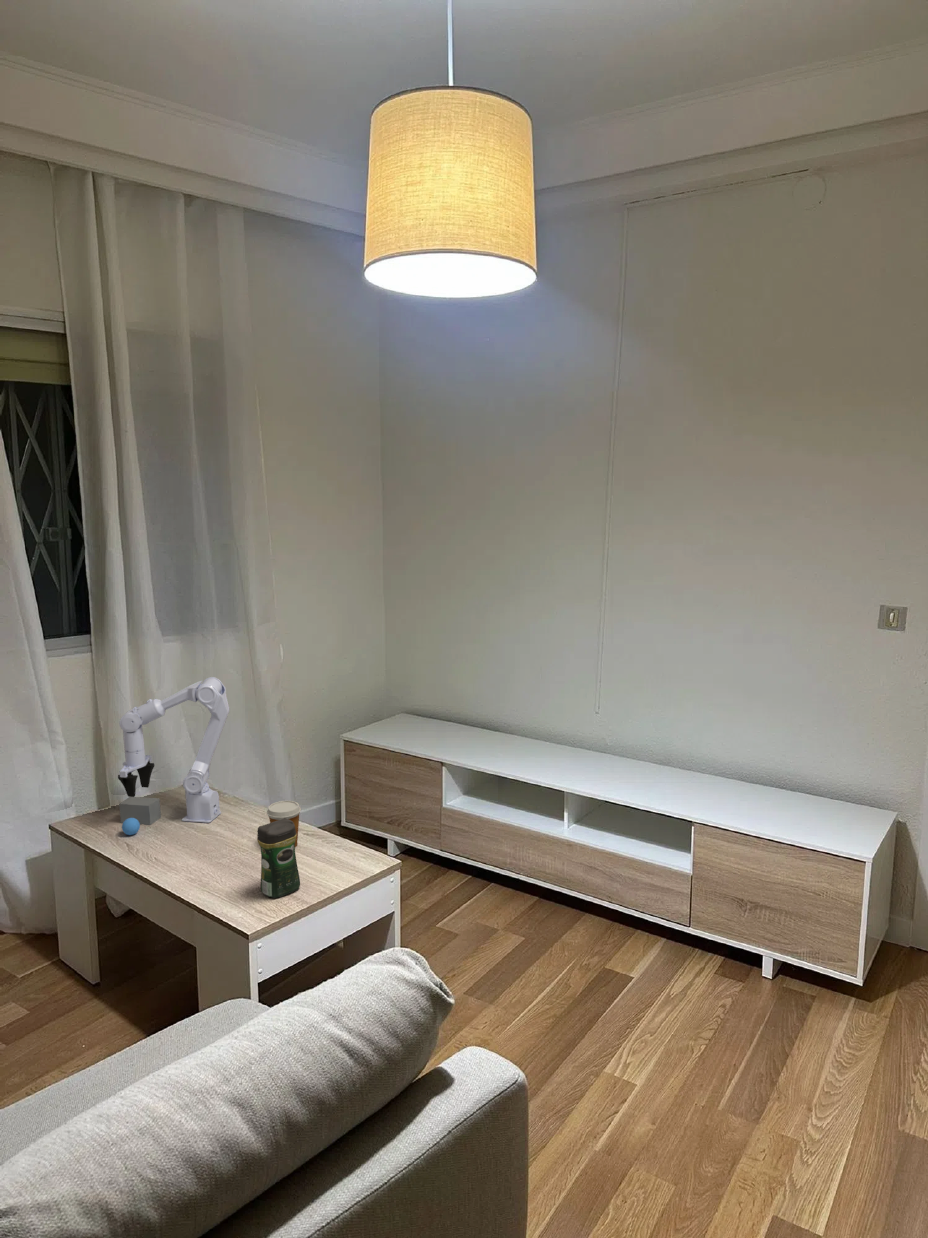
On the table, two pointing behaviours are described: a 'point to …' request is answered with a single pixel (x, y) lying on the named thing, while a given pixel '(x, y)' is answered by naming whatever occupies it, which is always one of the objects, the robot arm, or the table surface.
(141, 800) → the grey rectangular box
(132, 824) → the ball
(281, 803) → the disposable coffee cup
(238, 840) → the table surface
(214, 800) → the robot arm
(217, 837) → the table surface
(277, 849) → the coffee jar
